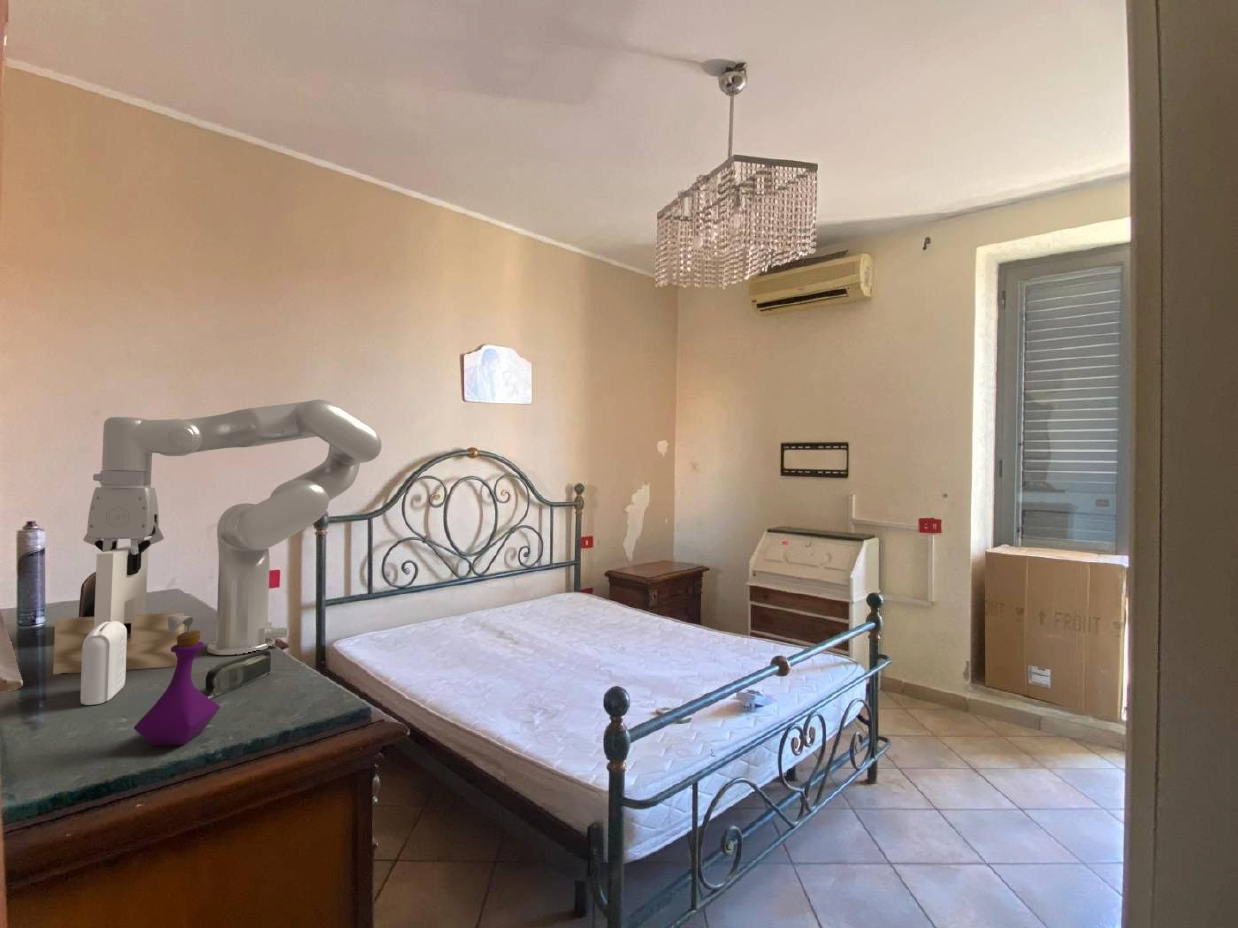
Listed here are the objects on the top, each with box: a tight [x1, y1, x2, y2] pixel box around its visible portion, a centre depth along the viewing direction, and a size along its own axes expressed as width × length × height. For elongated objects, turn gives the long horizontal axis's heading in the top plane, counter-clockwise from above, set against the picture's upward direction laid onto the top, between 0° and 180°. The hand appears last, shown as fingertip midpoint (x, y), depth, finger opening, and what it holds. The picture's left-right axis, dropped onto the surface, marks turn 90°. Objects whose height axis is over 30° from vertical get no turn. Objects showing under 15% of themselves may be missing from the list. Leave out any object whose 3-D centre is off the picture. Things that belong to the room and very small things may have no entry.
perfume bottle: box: [133, 615, 221, 747], centre depth 86 cm, size 8×8×18 cm
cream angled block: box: [94, 545, 149, 628], centre depth 116 cm, size 14×2×15 cm, turn 17°
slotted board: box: [52, 612, 186, 675], centre depth 116 cm, size 20×2×10 cm, turn 107°
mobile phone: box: [205, 650, 272, 700], centre depth 108 cm, size 5×3×15 cm
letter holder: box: [78, 571, 131, 639], centre depth 142 cm, size 10×20×14 cm, turn 33°
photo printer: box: [80, 621, 128, 706], centre depth 102 cm, size 10×4×12 cm, turn 26°
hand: (123, 573), depth 116 cm, fingers closed on cream angled block, 2 cm apart
